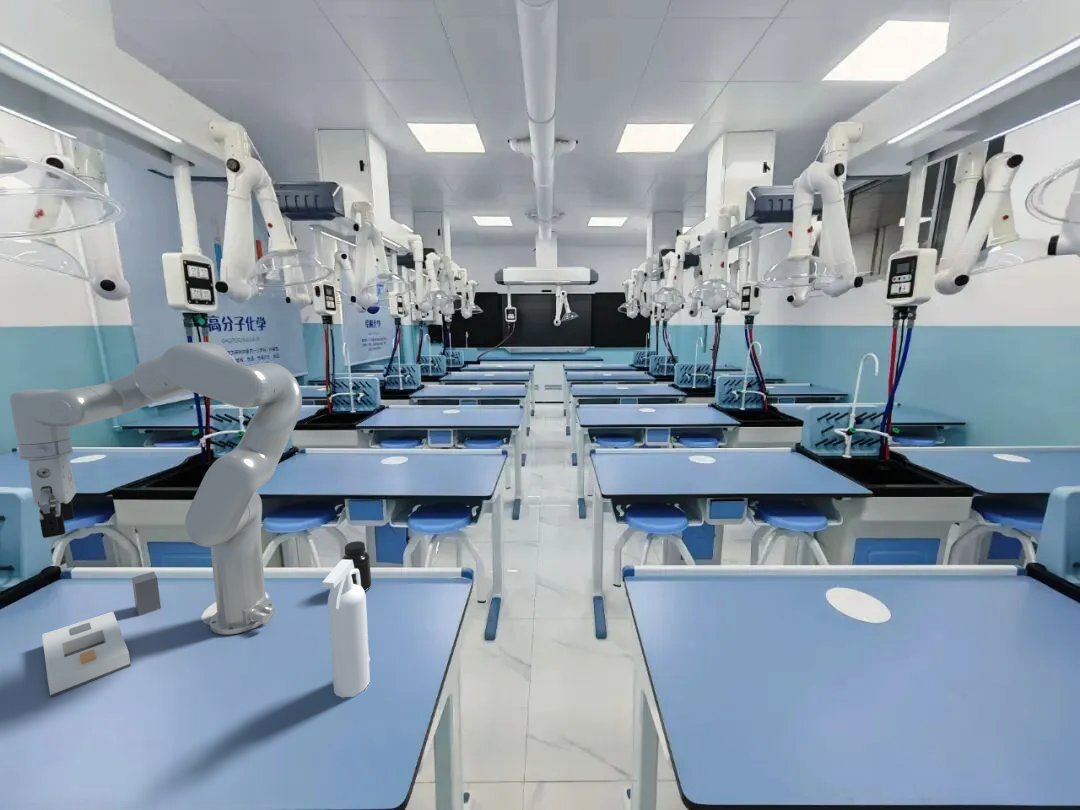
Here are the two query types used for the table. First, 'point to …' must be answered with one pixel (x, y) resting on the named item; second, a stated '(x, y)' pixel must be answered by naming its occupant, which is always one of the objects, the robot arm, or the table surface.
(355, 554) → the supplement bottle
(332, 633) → the white spray bottle
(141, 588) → the block
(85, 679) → the switch panel
